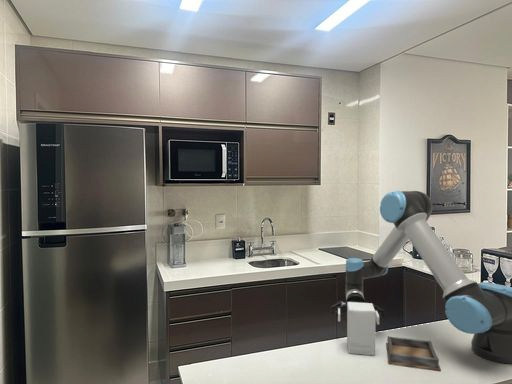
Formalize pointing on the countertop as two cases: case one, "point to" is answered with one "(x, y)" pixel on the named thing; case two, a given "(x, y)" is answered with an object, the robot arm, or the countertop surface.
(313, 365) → the countertop surface
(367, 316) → the supplement box
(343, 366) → the countertop surface
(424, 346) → the gray rimmed tray
